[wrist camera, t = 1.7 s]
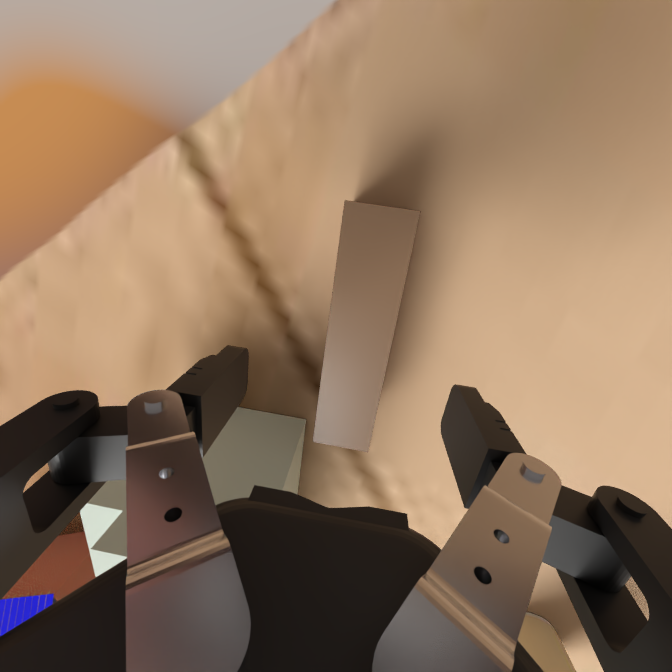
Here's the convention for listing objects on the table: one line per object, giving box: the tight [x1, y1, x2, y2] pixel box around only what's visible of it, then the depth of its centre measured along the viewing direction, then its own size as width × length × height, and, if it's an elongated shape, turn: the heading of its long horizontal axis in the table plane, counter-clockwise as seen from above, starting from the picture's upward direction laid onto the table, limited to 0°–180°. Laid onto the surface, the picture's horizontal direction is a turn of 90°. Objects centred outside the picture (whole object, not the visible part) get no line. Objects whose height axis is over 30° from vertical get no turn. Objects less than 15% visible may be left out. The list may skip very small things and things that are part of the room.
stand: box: [80, 407, 306, 577], centre depth 22 cm, size 10×14×12 cm
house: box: [0, 531, 96, 636], centre depth 31 cm, size 12×20×12 cm, turn 109°
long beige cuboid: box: [313, 200, 421, 452], centre depth 19 cm, size 4×14×5 cm, turn 172°
